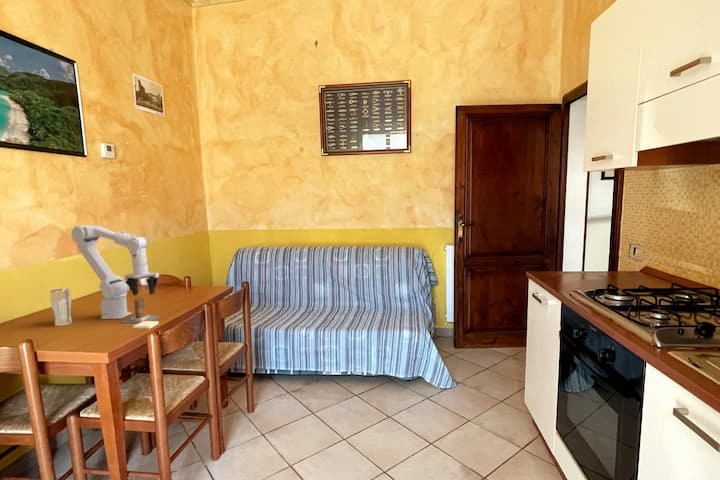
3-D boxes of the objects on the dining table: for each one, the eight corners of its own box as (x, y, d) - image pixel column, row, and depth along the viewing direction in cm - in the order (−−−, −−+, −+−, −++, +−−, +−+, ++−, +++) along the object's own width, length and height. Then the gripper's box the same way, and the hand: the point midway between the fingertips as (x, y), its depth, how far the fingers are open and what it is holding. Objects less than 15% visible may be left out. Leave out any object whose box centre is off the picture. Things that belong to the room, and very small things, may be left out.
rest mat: (121, 323, 161) (121, 321, 161) (133, 317, 169) (132, 316, 169) (149, 322, 161) (148, 321, 161) (159, 316, 169) (159, 315, 169)
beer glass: (51, 327, 158) (47, 292, 157) (55, 322, 164) (51, 289, 163) (72, 324, 162) (67, 290, 160) (75, 320, 168) (71, 287, 166)
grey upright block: (130, 321, 162) (128, 301, 161) (139, 316, 168) (137, 297, 167) (142, 320, 162) (140, 301, 161) (150, 316, 168) (148, 297, 167)
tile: (133, 326, 154) (148, 326, 153) (142, 321, 160) (158, 321, 159) (133, 329, 154) (149, 329, 154) (143, 324, 160) (158, 324, 160)
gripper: (118, 266, 163) (122, 297, 165) (150, 264, 162) (154, 295, 164) (128, 264, 170) (132, 293, 172) (159, 262, 169) (163, 291, 171)
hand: (144, 294), depth 168 cm, fingers open, 7 cm apart
